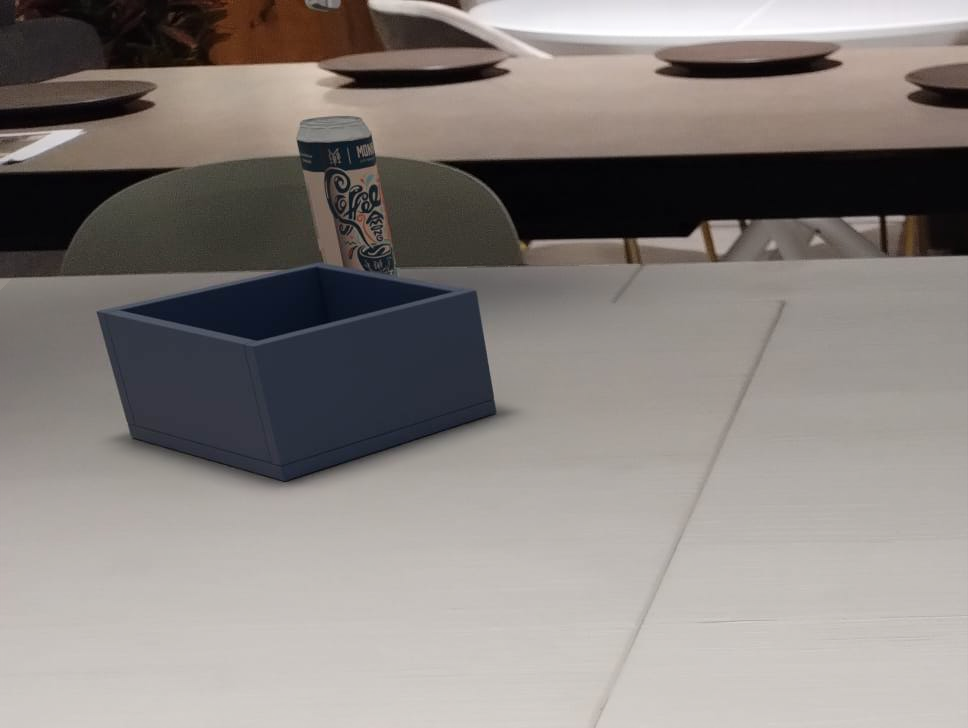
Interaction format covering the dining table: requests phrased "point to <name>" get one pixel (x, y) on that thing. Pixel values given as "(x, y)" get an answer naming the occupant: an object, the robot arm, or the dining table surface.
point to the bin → (299, 367)
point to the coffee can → (346, 193)
